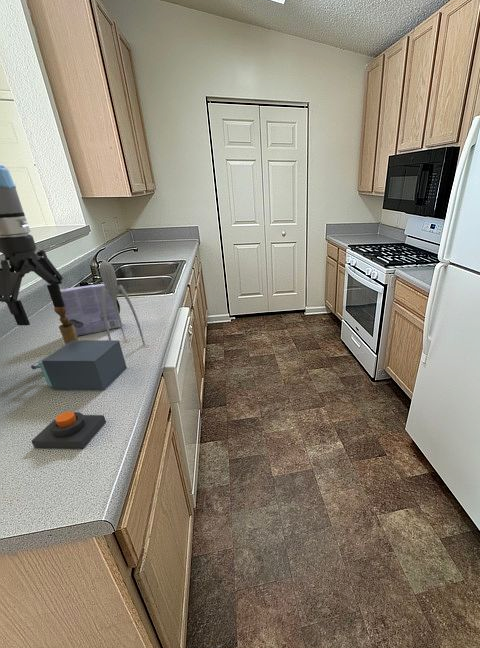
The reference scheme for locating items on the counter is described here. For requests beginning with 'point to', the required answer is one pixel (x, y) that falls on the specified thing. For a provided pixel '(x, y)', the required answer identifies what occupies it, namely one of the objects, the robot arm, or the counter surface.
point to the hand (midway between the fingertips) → (43, 315)
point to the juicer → (113, 294)
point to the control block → (70, 433)
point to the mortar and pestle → (66, 326)
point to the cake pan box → (89, 309)
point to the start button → (65, 419)
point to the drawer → (42, 368)
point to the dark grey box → (85, 365)
